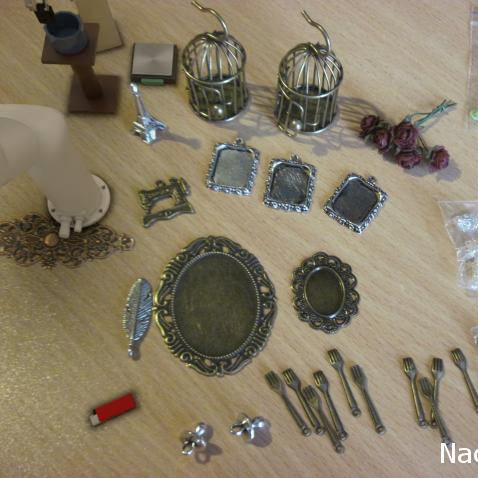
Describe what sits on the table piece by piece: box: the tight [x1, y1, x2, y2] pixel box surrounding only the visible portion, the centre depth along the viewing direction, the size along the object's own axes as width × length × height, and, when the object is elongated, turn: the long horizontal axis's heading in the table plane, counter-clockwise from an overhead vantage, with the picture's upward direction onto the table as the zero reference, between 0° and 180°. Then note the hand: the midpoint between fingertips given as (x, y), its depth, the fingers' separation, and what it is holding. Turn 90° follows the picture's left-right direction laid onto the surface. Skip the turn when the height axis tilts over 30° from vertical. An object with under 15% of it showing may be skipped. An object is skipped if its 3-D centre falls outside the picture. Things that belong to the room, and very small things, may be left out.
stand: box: [40, 23, 120, 115], centre depth 119 cm, size 10×10×18 cm
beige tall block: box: [69, 0, 123, 53], centre depth 124 cm, size 8×7×21 cm
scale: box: [129, 42, 178, 86], centre depth 131 cm, size 11×10×3 cm
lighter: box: [89, 392, 137, 427], centre depth 103 cm, size 3×1×8 cm
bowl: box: [43, 10, 88, 55], centre depth 109 cm, size 7×7×5 cm
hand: (53, 1), depth 102 cm, fingers open, 9 cm apart
